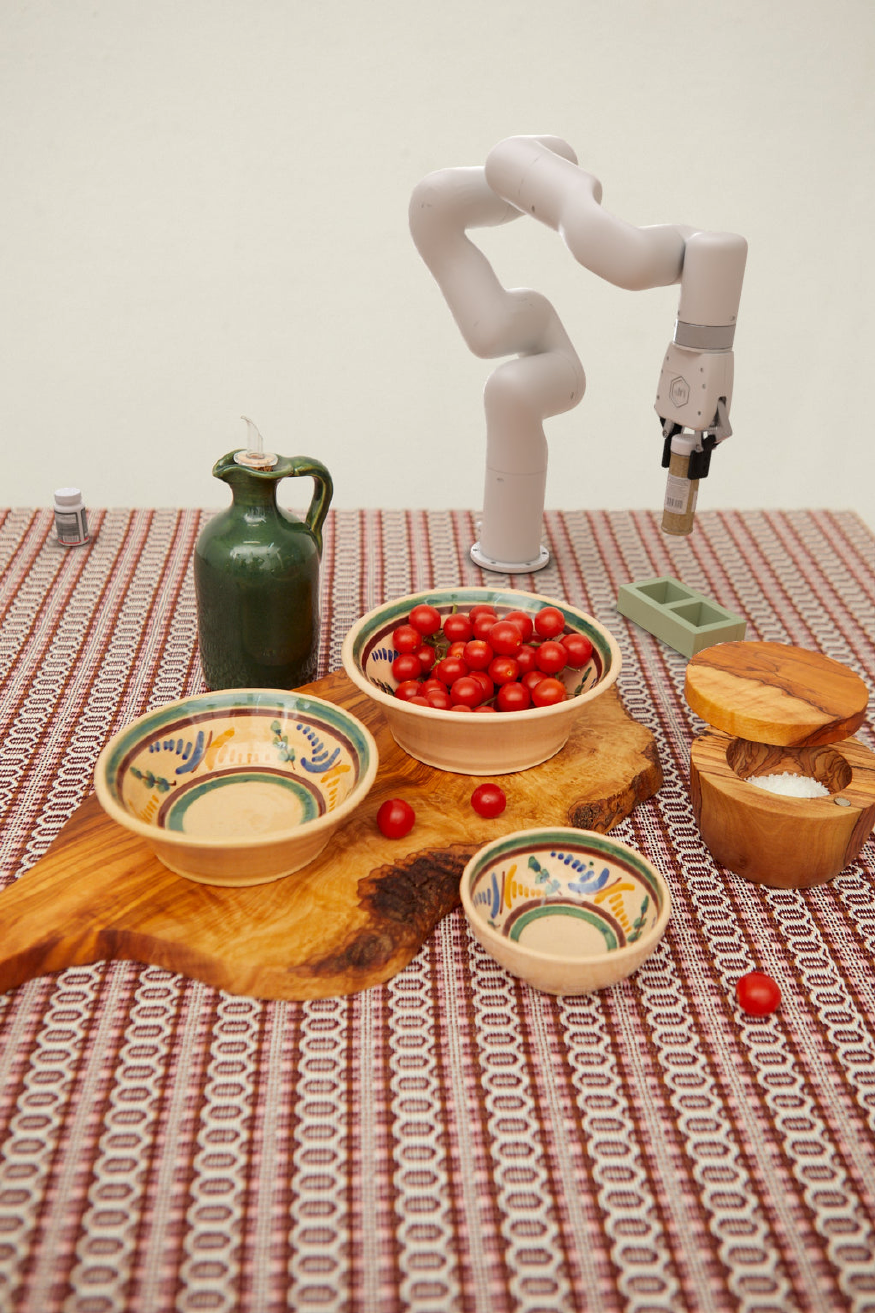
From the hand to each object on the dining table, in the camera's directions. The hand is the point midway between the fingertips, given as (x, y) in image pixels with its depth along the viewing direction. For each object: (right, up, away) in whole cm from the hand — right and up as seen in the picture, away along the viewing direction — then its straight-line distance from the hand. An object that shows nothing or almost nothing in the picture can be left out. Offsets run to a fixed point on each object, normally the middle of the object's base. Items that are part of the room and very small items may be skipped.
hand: (684, 470), depth 149 cm
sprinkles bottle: (0, -8, +4) cm, 9 cm away
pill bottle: (-92, -7, +27) cm, 96 cm away
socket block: (+1, -21, +7) cm, 22 cm away
